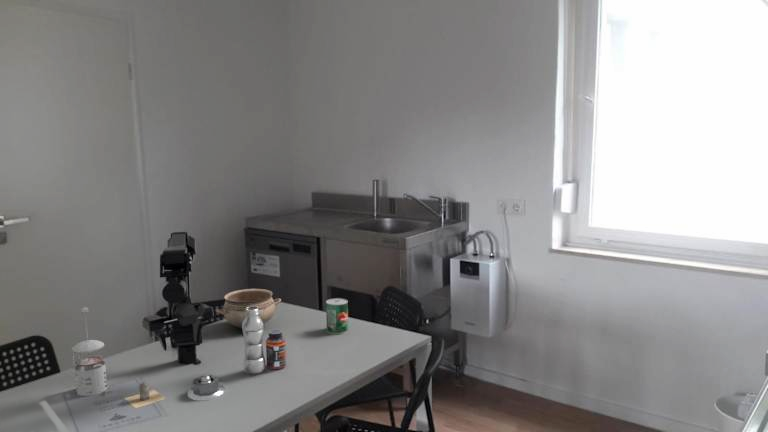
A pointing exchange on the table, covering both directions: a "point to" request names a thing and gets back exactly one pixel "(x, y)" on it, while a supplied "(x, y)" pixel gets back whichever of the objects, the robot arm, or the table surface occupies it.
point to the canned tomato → (337, 315)
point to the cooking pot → (248, 305)
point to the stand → (144, 396)
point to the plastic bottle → (253, 341)
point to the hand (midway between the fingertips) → (180, 345)
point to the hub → (201, 398)
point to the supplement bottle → (275, 350)
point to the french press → (89, 367)
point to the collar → (206, 386)
